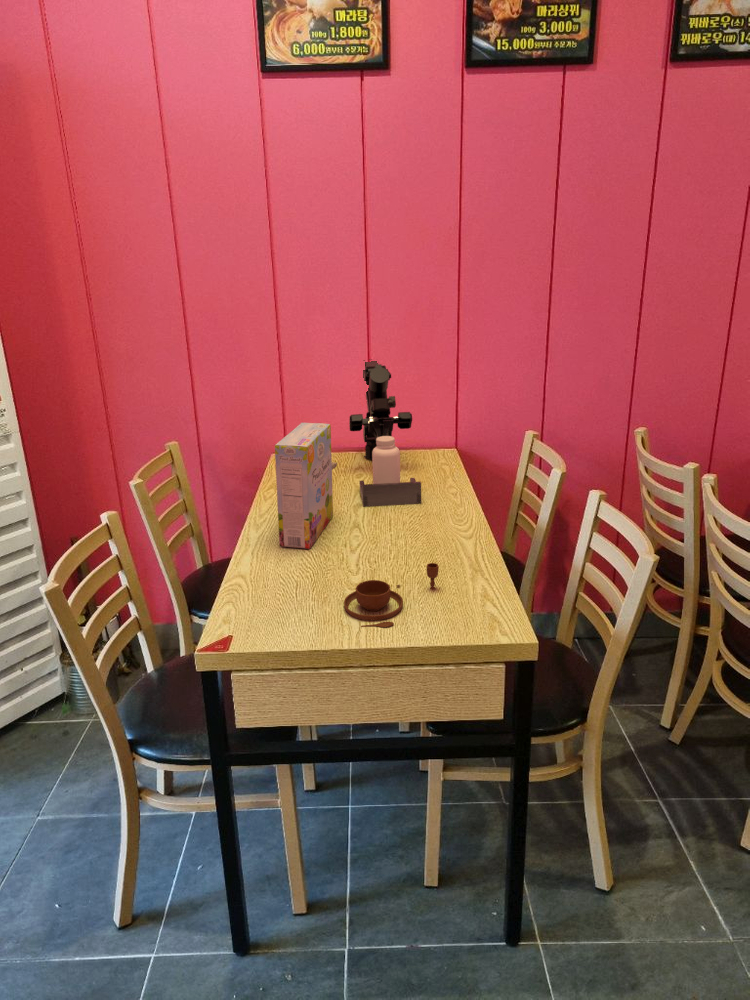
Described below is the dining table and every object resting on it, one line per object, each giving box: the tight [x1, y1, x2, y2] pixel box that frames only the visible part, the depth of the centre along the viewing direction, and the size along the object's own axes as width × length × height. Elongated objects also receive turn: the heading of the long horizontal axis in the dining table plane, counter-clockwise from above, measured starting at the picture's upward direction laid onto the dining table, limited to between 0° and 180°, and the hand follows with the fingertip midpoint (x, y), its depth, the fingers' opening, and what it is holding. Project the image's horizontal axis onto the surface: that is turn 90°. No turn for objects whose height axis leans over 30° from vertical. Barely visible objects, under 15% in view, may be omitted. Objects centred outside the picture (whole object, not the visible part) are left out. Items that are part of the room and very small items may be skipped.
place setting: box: [343, 562, 439, 629], centre depth 150 cm, size 18×20×6 cm
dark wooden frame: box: [359, 477, 422, 508], centre depth 208 cm, size 13×16×6 cm
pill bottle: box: [372, 435, 401, 484], centre depth 214 cm, size 8×8×15 cm
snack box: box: [274, 422, 334, 550], centre depth 183 cm, size 22×9×26 cm, turn 168°
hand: (383, 446), depth 221 cm, fingers closed
